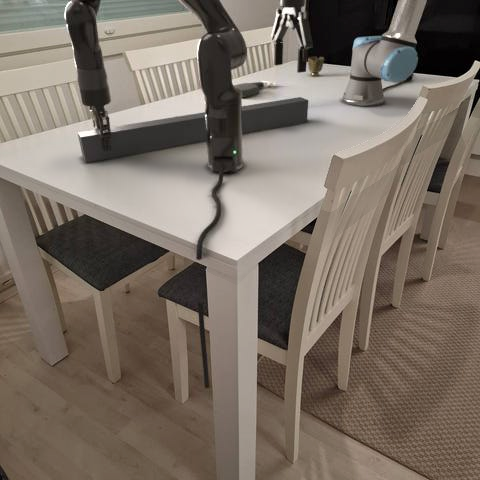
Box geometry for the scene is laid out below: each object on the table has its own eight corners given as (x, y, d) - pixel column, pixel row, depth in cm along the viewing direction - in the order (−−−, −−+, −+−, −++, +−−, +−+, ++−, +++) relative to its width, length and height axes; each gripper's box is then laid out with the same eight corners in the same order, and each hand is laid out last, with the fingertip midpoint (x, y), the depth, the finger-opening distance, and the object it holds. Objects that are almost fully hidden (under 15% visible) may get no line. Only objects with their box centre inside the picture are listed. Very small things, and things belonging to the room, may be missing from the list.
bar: (86, 163, 123) (80, 137, 119) (82, 157, 127) (77, 132, 123) (307, 122, 151) (308, 100, 147) (299, 118, 155) (300, 96, 151)
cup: (304, 76, 210) (305, 58, 205) (310, 73, 215) (311, 55, 211) (319, 77, 207) (321, 59, 202) (324, 74, 212) (326, 56, 208)
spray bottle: (223, 95, 183) (259, 84, 199) (243, 99, 177) (279, 87, 193) (222, 87, 181) (259, 77, 197) (243, 91, 175) (279, 80, 191)
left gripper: (114, 89, 113) (124, 153, 122) (102, 78, 124) (112, 137, 133) (84, 93, 110) (97, 158, 119) (74, 81, 121) (86, 142, 130)
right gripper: (329, -8, 122) (322, 73, 133) (281, -11, 141) (279, 60, 152) (306, -6, 119) (301, 76, 130) (260, -10, 138) (259, 62, 149)
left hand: (105, 147), depth 126 cm, fingers closed on bar, 4 cm apart
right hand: (289, 68), depth 141 cm, fingers open, 13 cm apart
